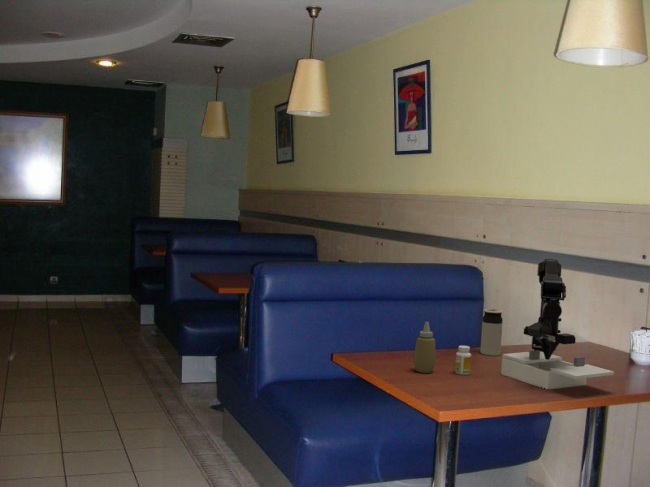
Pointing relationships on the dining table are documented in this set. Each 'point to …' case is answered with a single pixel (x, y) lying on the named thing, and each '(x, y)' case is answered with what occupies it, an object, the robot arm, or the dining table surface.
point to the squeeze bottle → (425, 351)
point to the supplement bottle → (463, 360)
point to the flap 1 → (530, 357)
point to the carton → (540, 373)
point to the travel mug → (491, 332)
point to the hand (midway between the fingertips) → (547, 359)
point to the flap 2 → (581, 370)
